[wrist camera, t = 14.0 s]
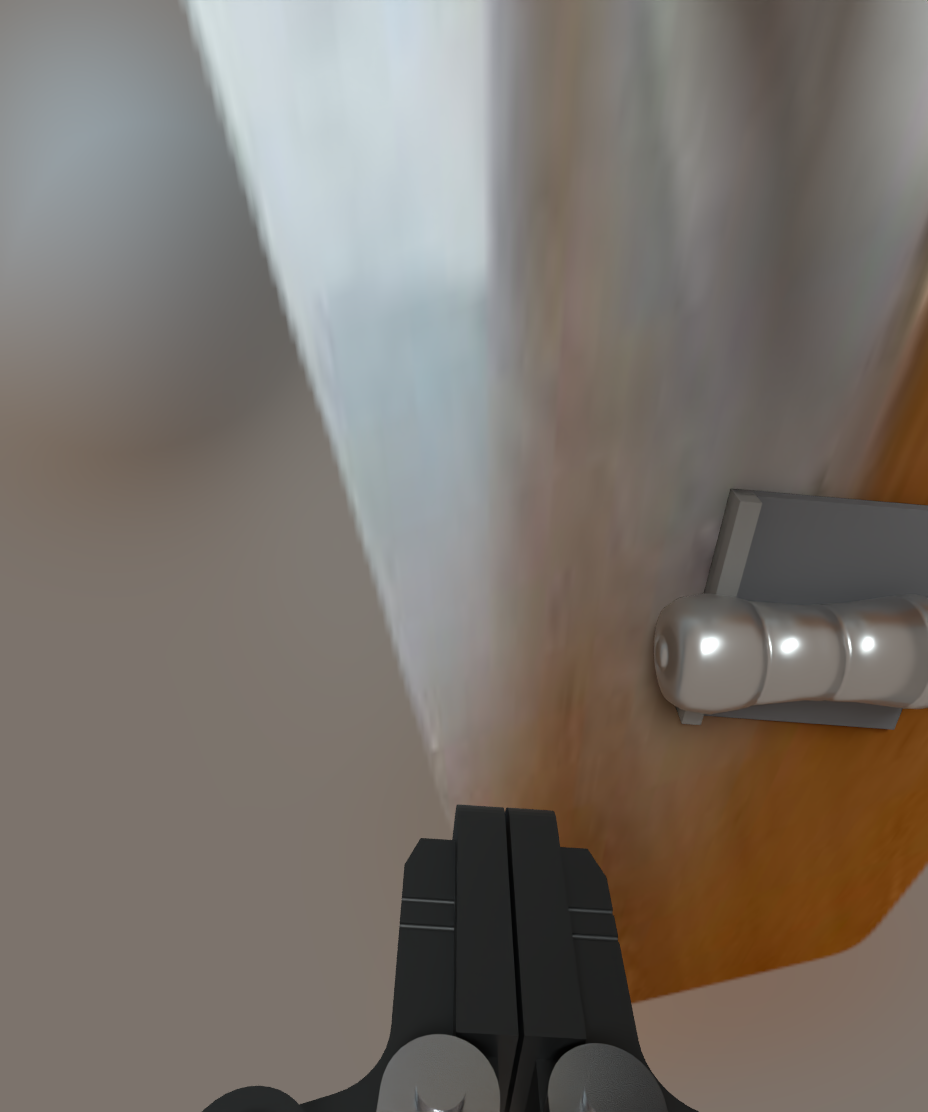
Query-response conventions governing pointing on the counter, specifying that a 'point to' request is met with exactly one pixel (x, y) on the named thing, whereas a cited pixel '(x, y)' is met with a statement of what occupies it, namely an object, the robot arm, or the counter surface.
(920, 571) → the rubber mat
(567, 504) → the counter surface
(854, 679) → the silver aluminum bottle
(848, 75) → the counter surface
